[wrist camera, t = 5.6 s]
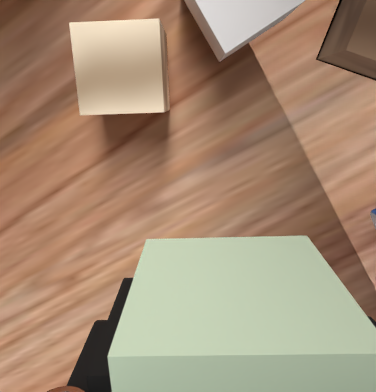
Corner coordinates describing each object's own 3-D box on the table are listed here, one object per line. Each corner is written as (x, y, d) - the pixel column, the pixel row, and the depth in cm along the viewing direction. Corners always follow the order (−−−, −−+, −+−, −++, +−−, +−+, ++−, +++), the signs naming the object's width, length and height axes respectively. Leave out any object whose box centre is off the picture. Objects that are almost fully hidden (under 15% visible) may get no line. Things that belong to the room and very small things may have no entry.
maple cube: (94, 37, 24) (69, 22, 19) (166, 34, 24) (159, 18, 19) (101, 112, 25) (79, 115, 20) (170, 109, 25) (164, 112, 20)
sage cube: (146, 239, 11) (107, 356, 6) (306, 235, 11) (394, 353, 6) (156, 367, 12) (131, 542, 8) (297, 365, 12) (362, 543, 7)
